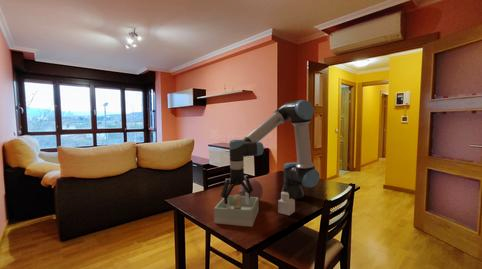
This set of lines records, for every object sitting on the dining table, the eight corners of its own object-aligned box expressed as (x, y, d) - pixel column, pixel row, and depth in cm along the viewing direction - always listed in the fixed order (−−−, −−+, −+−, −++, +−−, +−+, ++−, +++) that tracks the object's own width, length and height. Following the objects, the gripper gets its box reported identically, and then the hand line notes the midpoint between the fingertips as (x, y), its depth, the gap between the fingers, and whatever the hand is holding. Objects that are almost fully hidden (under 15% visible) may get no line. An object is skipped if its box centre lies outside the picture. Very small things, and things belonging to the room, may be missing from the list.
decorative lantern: (228, 205, 142) (228, 181, 140) (249, 196, 156) (249, 174, 155) (247, 211, 131) (246, 185, 130) (267, 201, 146) (267, 178, 145)
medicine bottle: (283, 208, 134) (283, 189, 133) (295, 211, 130) (294, 191, 129) (277, 212, 129) (277, 192, 128) (289, 216, 124) (289, 194, 123)
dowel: (242, 217, 124) (242, 195, 123) (236, 218, 122) (235, 197, 121) (238, 214, 127) (238, 193, 127) (232, 216, 125) (232, 195, 124)
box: (258, 210, 132) (258, 197, 131) (252, 226, 113) (252, 211, 112) (225, 208, 137) (225, 195, 136) (214, 223, 117) (214, 208, 117)
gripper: (251, 164, 132) (251, 200, 134) (213, 169, 120) (214, 209, 121) (258, 166, 126) (259, 204, 127) (219, 172, 113) (221, 214, 115)
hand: (237, 206), depth 124 cm, fingers open, 12 cm apart
